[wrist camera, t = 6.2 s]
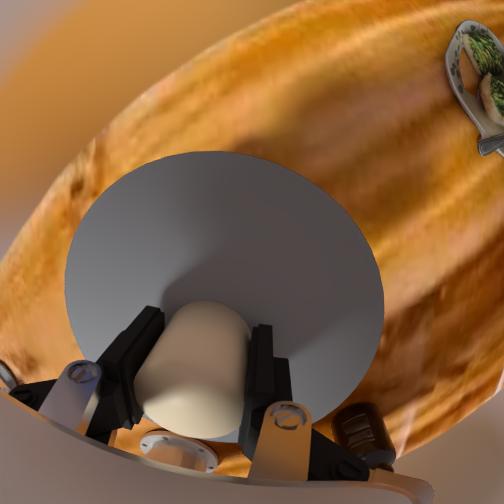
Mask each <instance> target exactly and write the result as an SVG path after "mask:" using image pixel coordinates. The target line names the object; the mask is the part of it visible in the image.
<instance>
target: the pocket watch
mask: <svg viewBox="0 0 504 504" xmlns="http://www.w3.org/2000/svg"><path fill="white" fill-rule="evenodd" d="M0 378H1V380H2V381H3V382H4V383H5V384H6V385H7V386H8V387H9V388H10V391H11V390H12V389H13V388H15V387H17V384H16V381H15V379H14V378H13V376H12V374H11V373H10V371H9V370H8V369H7V368H6V367H5V366H4V365H3V364H2V363H0Z"/></svg>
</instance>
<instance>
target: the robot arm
mask: <svg viewBox="0 0 504 504" xmlns="http://www.w3.org/2000/svg"><path fill="white" fill-rule="evenodd" d="M164 329H165V314H164V312H162V311H161V309H160V308H159V307H154V306H149V305H147V306H145V308H144V309H143V310H142V311H141V312H140V313H139V314H138V316H137V317H136V318H135V319H134V320H133V321H132V323H131V324H130V325H129V326H128V327H127V328H126V330H123V331H122V332H120V334H119V335H118V336H117V337H116V338H115V339H114V341H113V342H112V343H111V344H110V345H109V346H108V348H107V349H106V350H105V351H104V352H103V354H102V355H101V356H100V357H99V358H98V360H97V361H96V362H95V363H94V362H92V361H88V360H78V361H74V362H72V363H70V364H68V365H67V366H66V367H65V369H64V370H63V372H62V373H61V375H60V376H59V378H58V379H53V380H48V381H42V382H36V383H29V384H23V385H19V386H17V387H15V388H13V389H12V390H11V391H10V388H1V387H0V504H432V503H433V499H434V489H433V487H432V485H431V484H429V483H428V482H427V481H424V480H421V479H417V478H412V477H408V476H404V475H400V474H396V473H393V472H389V471H386V470H382V469H379V468H377V469H376V470H371V469H369V467H368V465H367V464H366V462H365V461H363V460H362V459H361V458H359V457H358V456H356V455H354V454H353V453H351V452H349V451H348V450H346V449H344V448H343V447H341V446H339V445H338V444H336V443H335V442H333V441H331V440H330V439H328V438H327V437H325V436H324V435H322V434H321V433H319V432H318V431H316V430H315V429H313V428H312V418H311V414H310V412H309V411H308V410H307V409H306V408H305V407H304V406H302V405H300V404H298V403H295V402H293V397H292V387H291V377H290V368H289V360H288V358H279V357H273V329H272V325H266V324H258V327H254V326H253V329H252V336H251V342H250V352H249V363H248V373H247V383H246V393H245V403H244V409H243V415H242V420H241V425H240V426H239V435H238V444H237V445H238V446H243V452H242V454H244V455H245V456H246V457H247V458H248V459H249V460H250V461H251V462H252V463H251V467H250V471H249V474H248V478H242V477H234V476H226V475H219V474H213V473H211V472H213V471H214V470H215V469H216V468H217V465H218V457H217V455H216V453H215V452H214V451H213V450H212V449H211V448H210V447H208V446H207V445H206V444H204V443H202V442H200V441H199V440H197V439H194V438H192V437H187V436H183V435H179V434H176V433H174V432H170V431H152V432H148V433H146V434H144V435H143V437H142V439H141V441H140V448H141V450H142V452H143V453H144V454H145V458H144V457H141V456H137V455H134V454H131V453H128V452H125V451H122V450H120V449H117V448H114V447H113V445H114V442H115V439H116V435H117V429H119V428H122V427H123V428H126V429H129V430H132V428H133V426H134V424H139V422H140V420H141V418H142V416H143V414H144V412H143V410H142V409H141V408H140V406H139V405H138V403H137V401H136V397H135V392H134V386H133V382H134V378H135V376H136V374H137V373H138V371H139V369H140V368H141V366H142V364H143V363H144V361H145V360H146V358H147V356H148V355H149V353H150V352H151V350H152V348H153V347H154V345H155V344H156V342H157V340H158V339H159V337H160V336H161V334H162V332H163V331H164Z"/></svg>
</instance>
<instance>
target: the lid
mask: <svg viewBox="0 0 504 504" xmlns="http://www.w3.org/2000/svg"><path fill="white" fill-rule="evenodd" d="M65 300H66V308H67V313H68V317H69V321H70V325H71V328H72V331H73V334H74V336H75V339H76V341H77V344H78V346H79V348H80V350H81V352H82V354H83V355H84V357H85V359H86V360H88V361H92V362H94V363H95V362H96V361H97V360H98V358H99V357H100V356H101V355H102V354H103V352H104V351H105V350H106V349H107V348H108V346H109V345H110V344H111V343H112V342H113V341H114V339H115V338H116V337H117V336H118V335H119V334H120V332H122V331H123V330H126V328H127V327H128V326H129V325H130V324H131V323H132V321H133V320H134V319H135V318H136V317H137V316H138V314H139V313H140V312H141V311H142V310H143V309H144V308H145V306H147V305H149V306H154V307H159V308H160V309H161V311H162V312H164V314H165V329H164V331H163V332H162V334H161V336H160V337H159V339H158V340H157V342H156V344H155V345H154V347H153V348H152V350H151V352H150V353H149V355H148V356H147V358H146V360H145V361H144V363H143V364H142V366H141V368H140V369H139V371H138V373H137V374H136V376H135V378H134V382H133V386H134V392H135V397H136V401H137V403H138V405H139V406H140V408H141V409H142V410H143V412H144V414H143V417H144V418H146V419H148V420H150V421H152V422H154V423H156V424H157V425H159V426H162V427H163V428H165V429H167V430H169V431H171V432H174V433H176V434H179V435H183V436H187V437H192V438H198V439H203V440H208V441H216V442H228V443H238V435H239V426H240V425H241V420H242V415H243V409H244V403H245V393H246V383H247V373H248V363H249V352H250V342H251V336H252V329H253V326H254V327H258V324H266V325H272V329H273V357H279V358H288V360H289V368H290V377H291V387H292V397H293V402H295V403H298V404H300V405H302V406H304V407H305V408H306V409H307V410H308V411H309V412H310V414H311V418H312V424H313V423H315V422H316V421H318V420H320V419H322V418H323V417H325V416H326V415H327V414H329V413H330V412H331V411H333V410H334V409H335V408H337V407H338V406H339V405H340V404H341V403H342V402H343V401H344V400H345V399H346V398H347V397H348V396H350V394H351V393H352V392H353V391H354V389H355V388H356V387H357V386H358V385H359V383H360V382H361V381H362V379H363V377H364V376H365V374H366V372H367V371H368V369H369V367H370V366H371V363H372V361H373V359H374V356H375V354H376V352H377V349H378V346H379V342H380V338H381V334H382V329H383V320H384V292H383V286H382V282H381V277H380V272H379V269H378V266H377V263H376V261H375V258H374V255H373V253H372V250H371V248H370V246H369V244H368V243H367V241H366V239H365V237H364V236H363V234H362V232H361V230H360V229H359V227H358V226H357V225H356V223H355V222H354V221H353V220H352V218H351V217H350V216H349V215H348V213H347V212H346V211H345V210H344V209H343V207H342V206H340V205H339V204H338V203H337V202H336V201H335V200H334V199H333V198H332V197H331V196H330V195H328V194H327V193H326V192H325V191H324V190H323V189H321V188H320V187H318V186H317V185H315V184H314V183H312V182H311V181H309V180H308V179H306V178H305V177H303V176H302V175H300V174H298V173H296V172H294V171H292V170H290V169H287V168H285V167H283V166H281V165H279V164H277V163H274V162H271V161H268V160H264V159H261V158H257V157H254V156H250V155H246V154H239V153H231V152H223V151H200V152H188V153H183V154H177V155H172V156H167V157H164V158H161V159H158V160H156V161H153V162H150V163H147V164H144V165H143V166H141V167H139V168H137V169H135V170H133V171H131V172H130V173H128V174H126V175H124V176H123V177H122V178H120V179H119V180H118V181H116V182H115V183H114V184H112V185H111V186H110V187H109V188H107V189H106V190H105V191H104V192H103V193H102V194H101V196H100V197H99V198H98V199H97V200H96V201H95V202H94V203H93V204H92V206H91V207H90V208H89V210H88V211H87V213H86V214H85V216H84V217H83V219H82V220H81V222H80V224H79V226H78V229H77V231H76V233H75V235H74V237H73V240H72V243H71V246H70V250H69V253H68V257H67V263H66V270H65Z"/></svg>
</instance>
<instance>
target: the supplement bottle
mask: <svg viewBox="0 0 504 504" xmlns="http://www.w3.org/2000/svg"><path fill="white" fill-rule="evenodd" d="M331 428H332V433H333V438H334V442H335V443H336V444H338V445H339V446H341V447H343V448H344V449H346V450H348V451H349V452H351V453H353V454H354V455H356V456H358V457H359V458H361V459H362V460H363V461H365V462H366V464H367V465H368V467H369V469H371V470H376V469H377V468H379V469H382V470H386V471H389V472H393V473H394V469H393V467H392V464H393V463H394V461H395V459H396V451H395V448H394V445H393V443H392V440H391V438H390V435H389V433H388V430H387V428H386V425H385V423H384V420H383V418H382V416H381V413H380V411H379V409H378V408H377V407H376V406H375V405H373V404H371V403H358V404H354V405H351V406H349V407H346V408H345V409H343V410H341V411H340V412H339V413H338V414H337V415H336V416H335V417H334V419H333V421H332V424H331Z"/></svg>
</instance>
